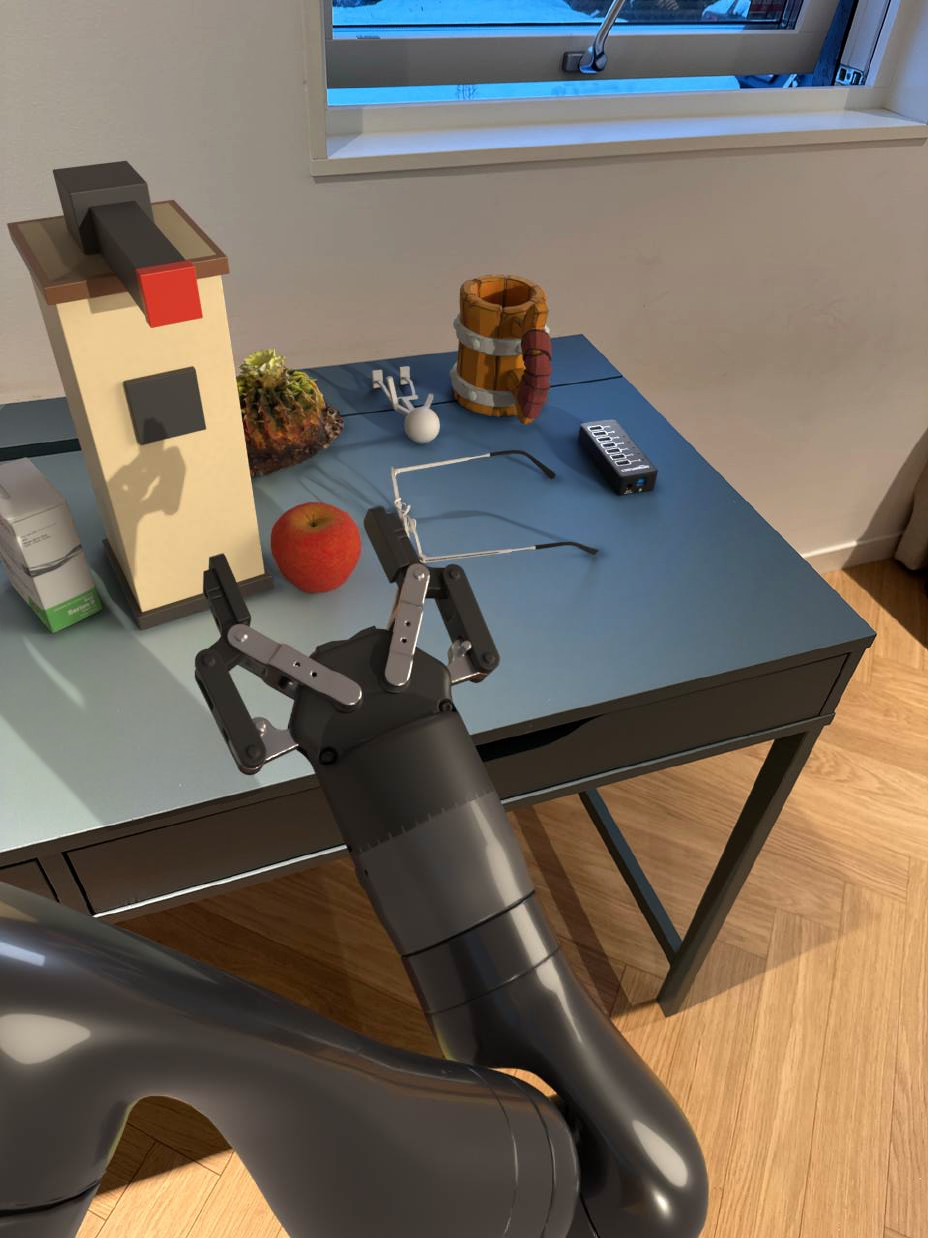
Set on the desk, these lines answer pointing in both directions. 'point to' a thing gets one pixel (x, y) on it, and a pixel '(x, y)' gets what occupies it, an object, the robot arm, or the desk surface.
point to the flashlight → (128, 239)
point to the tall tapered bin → (152, 417)
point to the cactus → (282, 414)
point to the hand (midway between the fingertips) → (295, 536)
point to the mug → (502, 347)
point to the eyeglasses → (428, 559)
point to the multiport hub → (617, 457)
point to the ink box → (43, 548)
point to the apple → (315, 546)
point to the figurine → (410, 408)
